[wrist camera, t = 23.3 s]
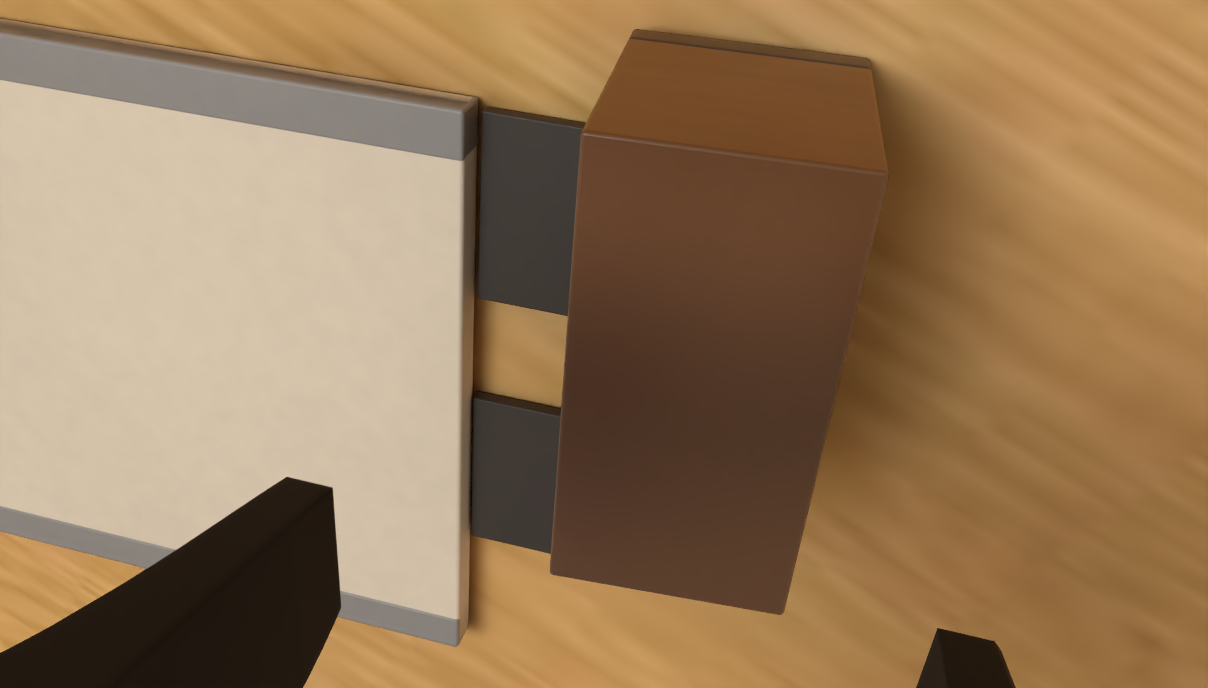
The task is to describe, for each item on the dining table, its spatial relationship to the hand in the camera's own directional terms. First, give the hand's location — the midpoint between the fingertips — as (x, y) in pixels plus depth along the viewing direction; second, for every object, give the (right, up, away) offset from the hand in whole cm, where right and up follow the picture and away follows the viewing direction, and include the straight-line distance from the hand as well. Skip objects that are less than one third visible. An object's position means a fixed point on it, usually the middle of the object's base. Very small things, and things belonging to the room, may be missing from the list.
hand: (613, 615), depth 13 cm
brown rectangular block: (+2, +5, +7) cm, 9 cm away
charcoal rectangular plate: (-2, 0, +12) cm, 12 cm away
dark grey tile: (-1, +6, +8) cm, 10 cm away
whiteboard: (-13, +4, +12) cm, 18 cm away
